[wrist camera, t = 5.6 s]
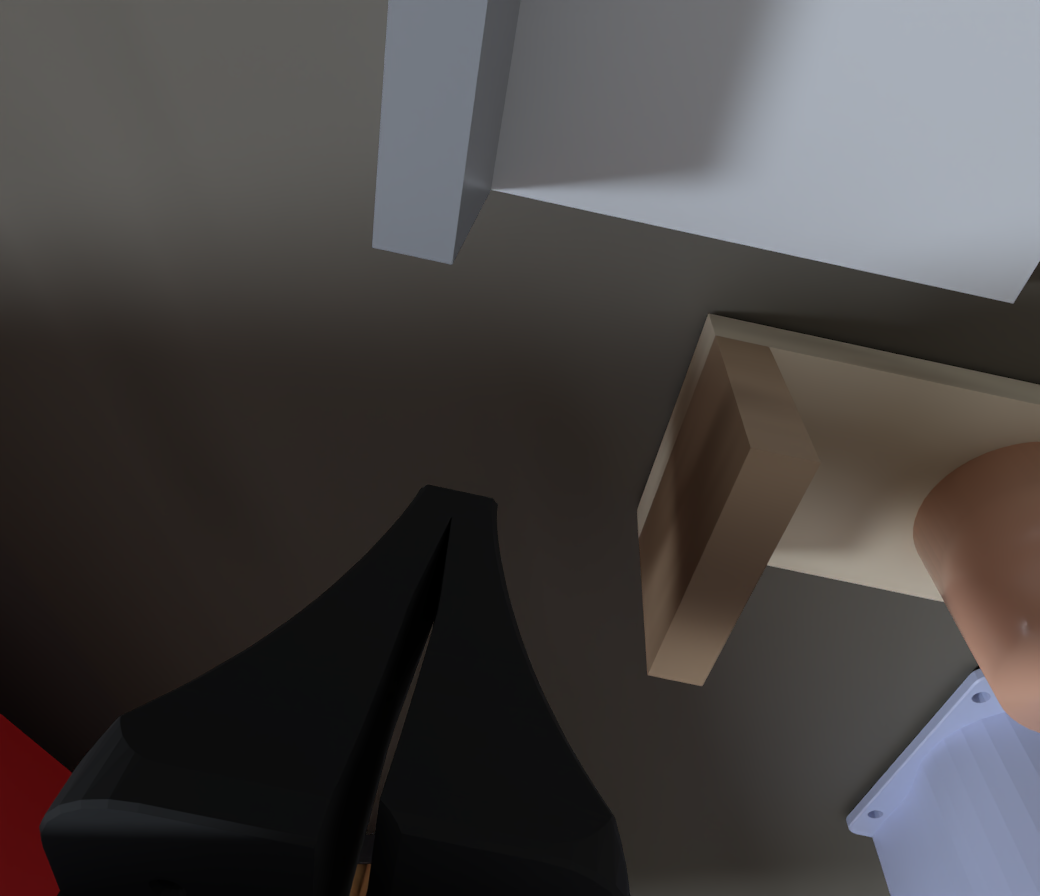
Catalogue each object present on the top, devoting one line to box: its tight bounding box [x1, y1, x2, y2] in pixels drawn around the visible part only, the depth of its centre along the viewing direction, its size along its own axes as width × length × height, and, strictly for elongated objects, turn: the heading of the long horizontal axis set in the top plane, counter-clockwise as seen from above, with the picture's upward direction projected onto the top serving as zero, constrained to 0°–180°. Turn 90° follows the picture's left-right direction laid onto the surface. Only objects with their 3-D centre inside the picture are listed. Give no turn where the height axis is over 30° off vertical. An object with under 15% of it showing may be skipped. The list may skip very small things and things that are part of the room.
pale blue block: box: [372, 0, 1040, 303], centre depth 11 cm, size 6×12×6 cm, turn 79°
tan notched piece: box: [637, 313, 1040, 686], centre depth 16 cm, size 6×12×6 cm, turn 79°
